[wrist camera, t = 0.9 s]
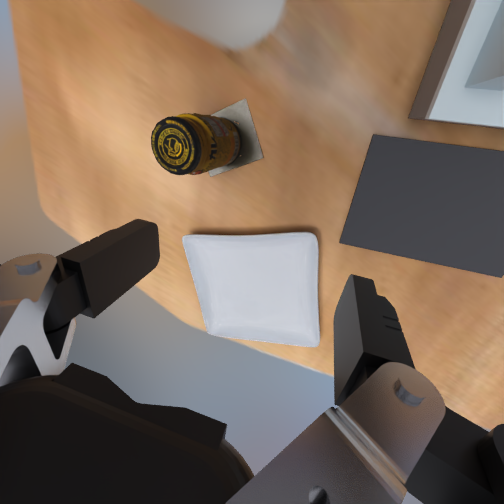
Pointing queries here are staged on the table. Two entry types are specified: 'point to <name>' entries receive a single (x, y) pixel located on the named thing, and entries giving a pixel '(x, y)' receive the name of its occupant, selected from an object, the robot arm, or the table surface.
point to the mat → (430, 204)
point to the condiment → (206, 141)
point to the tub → (440, 60)
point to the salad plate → (257, 286)
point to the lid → (474, 70)
